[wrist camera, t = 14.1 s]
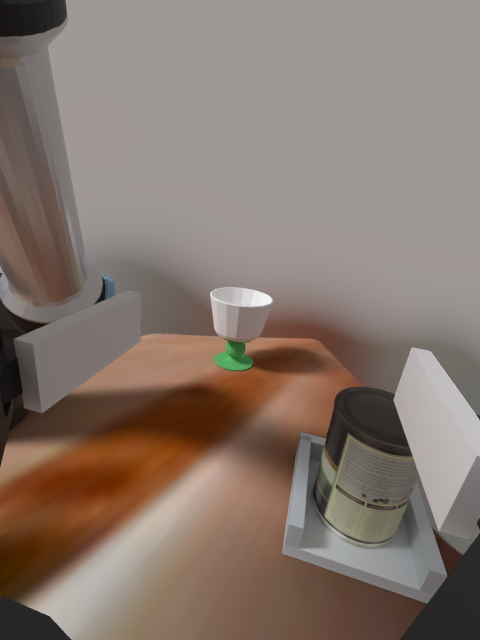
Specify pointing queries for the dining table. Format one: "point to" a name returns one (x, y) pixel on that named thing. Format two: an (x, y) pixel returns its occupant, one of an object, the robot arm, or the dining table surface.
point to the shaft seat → (358, 562)
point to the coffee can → (364, 469)
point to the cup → (238, 323)
